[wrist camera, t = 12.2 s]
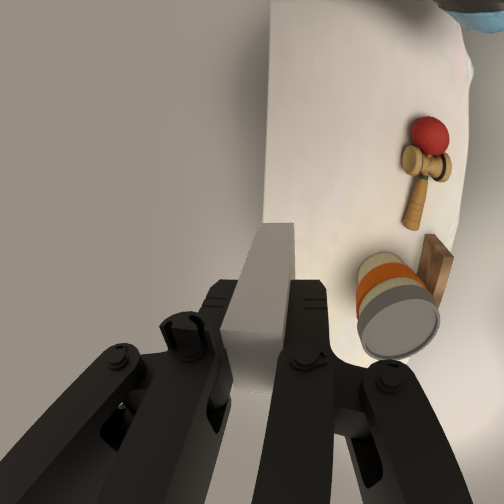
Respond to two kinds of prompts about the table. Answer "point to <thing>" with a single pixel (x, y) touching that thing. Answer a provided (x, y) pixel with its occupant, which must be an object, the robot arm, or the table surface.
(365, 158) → the table surface
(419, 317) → the reusable coffee cup
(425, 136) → the kendama
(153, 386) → the robot arm
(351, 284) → the table surface
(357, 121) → the table surface
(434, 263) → the board
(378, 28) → the table surface
